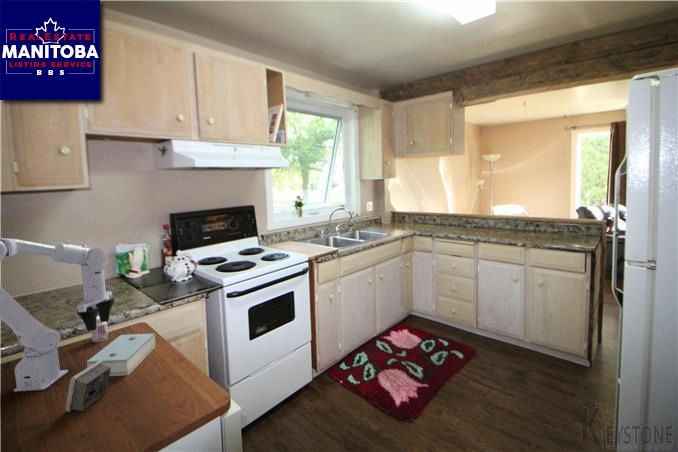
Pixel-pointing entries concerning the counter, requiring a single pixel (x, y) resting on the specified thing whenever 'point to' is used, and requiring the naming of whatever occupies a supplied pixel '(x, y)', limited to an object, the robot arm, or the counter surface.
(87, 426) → the counter surface
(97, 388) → the electrical switch
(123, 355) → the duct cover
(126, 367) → the base
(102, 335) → the pill bottle
